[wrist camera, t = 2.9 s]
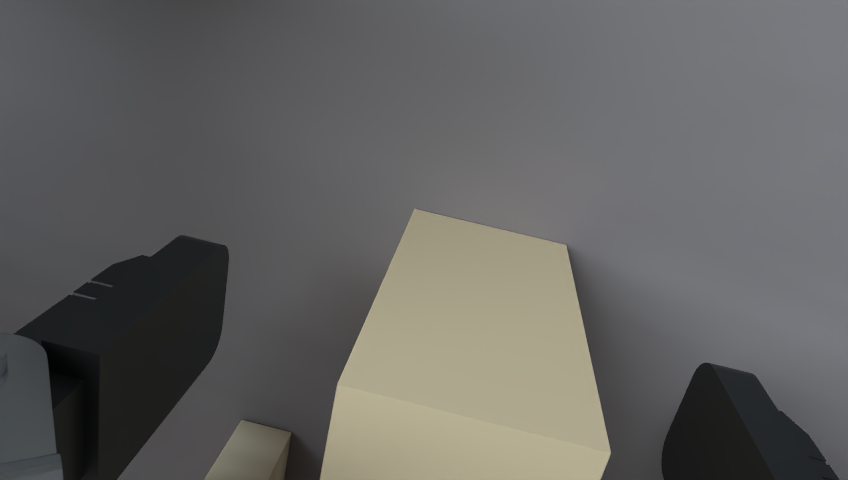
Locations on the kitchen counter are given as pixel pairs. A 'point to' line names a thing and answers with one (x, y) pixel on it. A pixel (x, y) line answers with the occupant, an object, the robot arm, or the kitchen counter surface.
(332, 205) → the kitchen counter surface
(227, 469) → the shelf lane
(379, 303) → the tethered block
